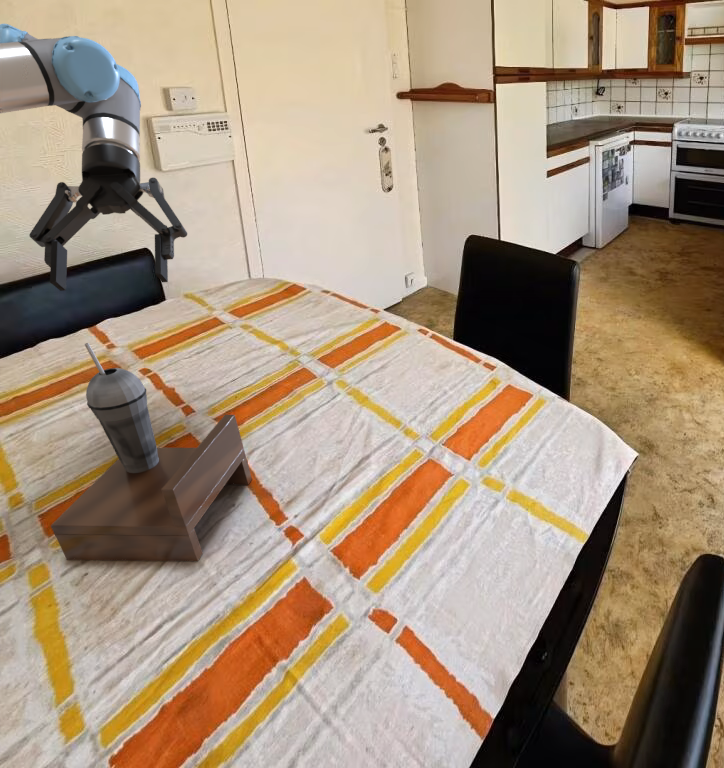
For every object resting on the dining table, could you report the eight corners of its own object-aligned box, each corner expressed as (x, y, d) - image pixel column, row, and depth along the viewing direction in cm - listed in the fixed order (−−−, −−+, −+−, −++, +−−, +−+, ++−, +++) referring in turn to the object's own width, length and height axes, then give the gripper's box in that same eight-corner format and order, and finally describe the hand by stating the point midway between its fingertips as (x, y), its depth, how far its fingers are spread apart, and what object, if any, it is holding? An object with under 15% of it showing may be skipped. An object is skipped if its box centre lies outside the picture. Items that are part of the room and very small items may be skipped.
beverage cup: (172, 467, 92) (130, 343, 82) (116, 485, 88) (65, 358, 78) (165, 444, 97) (124, 326, 87) (112, 460, 93) (63, 339, 84)
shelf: (66, 560, 84) (32, 488, 78) (141, 478, 99) (117, 414, 94) (197, 561, 83) (172, 489, 77) (252, 479, 99) (234, 414, 93)
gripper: (206, 168, 102) (210, 286, 96) (34, 177, 97) (28, 301, 91) (190, 137, 94) (194, 262, 89) (4, 145, 90) (-4, 277, 84)
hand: (110, 282), depth 90 cm, fingers open, 13 cm apart
